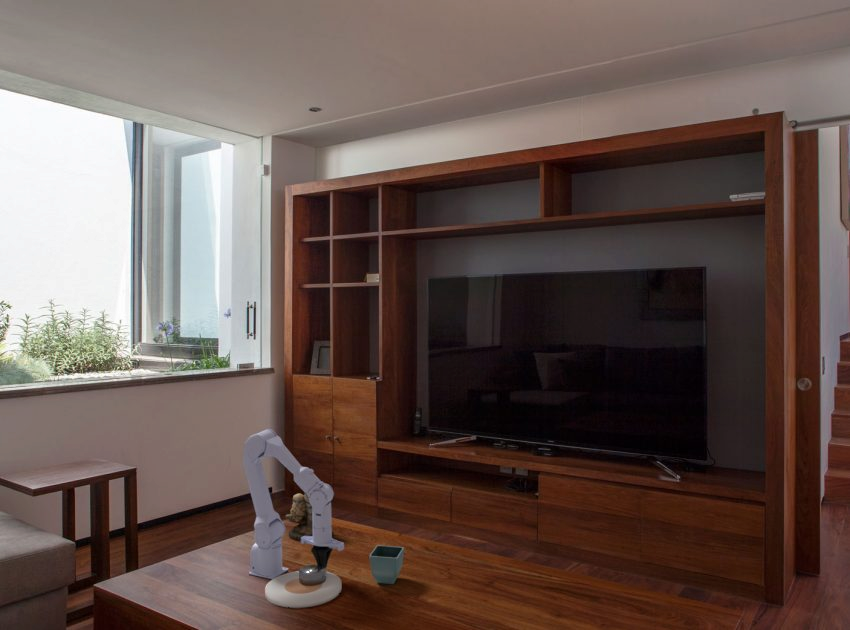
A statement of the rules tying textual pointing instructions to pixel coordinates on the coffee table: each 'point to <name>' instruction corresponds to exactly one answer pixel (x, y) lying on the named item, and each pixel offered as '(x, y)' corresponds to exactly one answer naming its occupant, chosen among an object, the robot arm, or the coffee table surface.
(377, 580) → the flower pot
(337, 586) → the turntable
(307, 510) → the owl figurine
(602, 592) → the coffee table surface
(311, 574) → the cast cover
